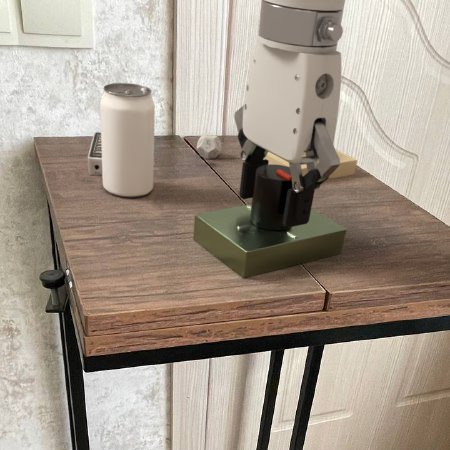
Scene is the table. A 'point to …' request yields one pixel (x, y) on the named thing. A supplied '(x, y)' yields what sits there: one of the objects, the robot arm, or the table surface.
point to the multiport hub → (95, 156)
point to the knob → (270, 196)
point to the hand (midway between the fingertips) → (272, 209)
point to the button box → (344, 168)
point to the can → (127, 139)
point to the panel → (265, 240)
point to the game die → (209, 146)
